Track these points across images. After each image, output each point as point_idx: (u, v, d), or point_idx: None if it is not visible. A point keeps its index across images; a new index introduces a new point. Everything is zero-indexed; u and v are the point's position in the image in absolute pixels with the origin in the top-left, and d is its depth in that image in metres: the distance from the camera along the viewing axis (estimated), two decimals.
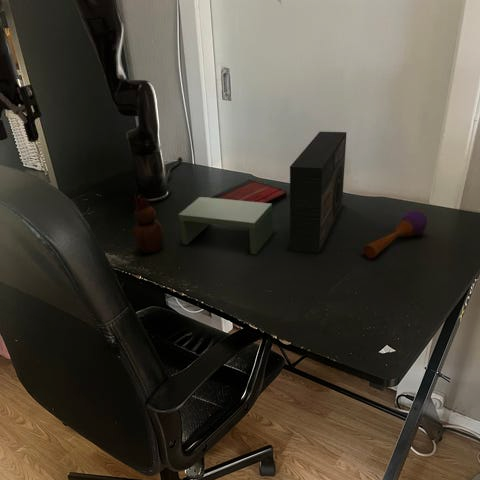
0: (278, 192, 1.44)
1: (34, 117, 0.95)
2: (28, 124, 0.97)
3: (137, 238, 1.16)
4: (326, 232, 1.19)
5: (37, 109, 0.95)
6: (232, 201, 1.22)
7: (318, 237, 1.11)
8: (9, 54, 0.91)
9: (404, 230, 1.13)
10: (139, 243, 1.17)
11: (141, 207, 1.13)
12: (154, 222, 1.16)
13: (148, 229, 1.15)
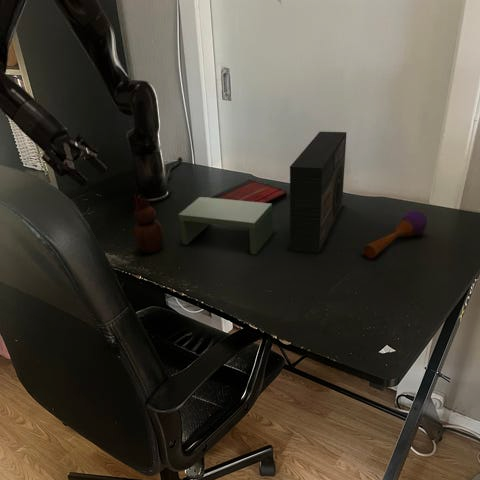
0: (278, 192, 1.44)
1: (60, 174, 1.07)
2: None
3: (137, 238, 1.16)
4: (326, 232, 1.19)
5: None
6: (232, 201, 1.22)
7: (318, 237, 1.11)
8: (34, 128, 1.07)
9: (404, 230, 1.13)
10: (139, 243, 1.17)
11: (141, 207, 1.13)
12: (154, 222, 1.16)
13: (148, 229, 1.15)
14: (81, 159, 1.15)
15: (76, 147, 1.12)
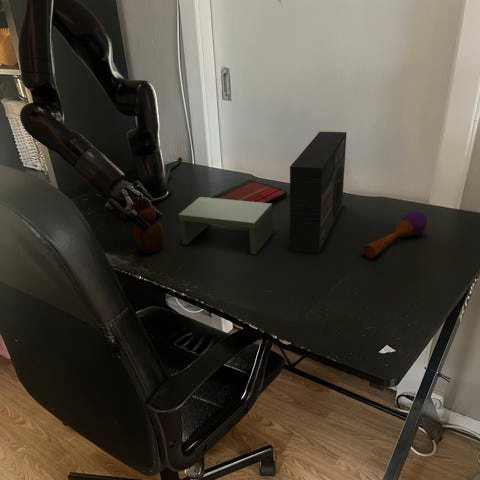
0: (278, 192, 1.44)
1: (124, 221, 1.11)
2: None
3: (137, 238, 1.16)
4: (326, 232, 1.19)
5: None
6: (232, 201, 1.22)
7: (318, 237, 1.11)
8: (94, 176, 1.09)
9: (404, 230, 1.13)
10: (139, 243, 1.17)
11: (141, 207, 1.13)
12: (154, 222, 1.16)
13: (148, 229, 1.15)
14: None
15: (132, 193, 1.14)
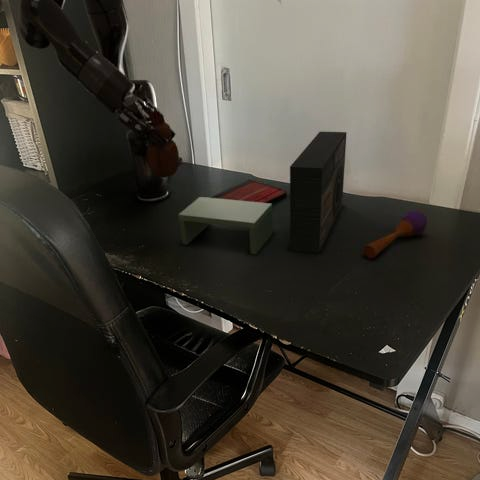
0: (278, 192, 1.44)
1: (141, 135, 1.00)
2: None
3: (152, 159, 1.05)
4: (326, 232, 1.19)
5: None
6: (232, 201, 1.22)
7: (318, 237, 1.11)
8: (104, 84, 0.97)
9: (404, 230, 1.13)
10: (154, 165, 1.06)
11: (156, 122, 1.02)
12: (170, 141, 1.05)
13: (165, 148, 1.04)
14: None
15: (144, 107, 1.03)
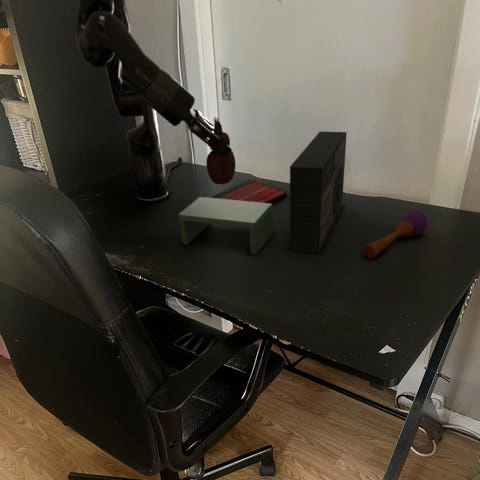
0: (278, 192, 1.44)
1: (211, 145, 1.04)
2: None
3: (215, 168, 1.09)
4: (326, 232, 1.19)
5: (212, 136, 1.03)
6: (232, 201, 1.22)
7: (318, 237, 1.11)
8: (173, 98, 1.00)
9: (404, 230, 1.13)
10: (217, 173, 1.10)
11: (218, 132, 1.07)
12: None
13: (227, 156, 1.09)
14: None
15: None
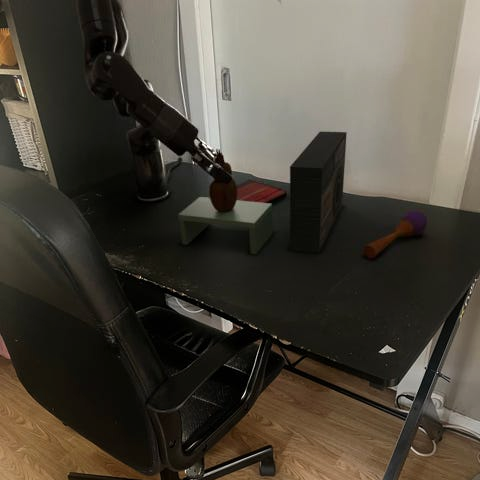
0: (278, 192, 1.44)
1: (212, 174, 1.06)
2: (216, 175, 1.08)
3: (218, 196, 1.13)
4: (326, 232, 1.19)
5: None
6: None
7: (318, 237, 1.11)
8: (178, 131, 1.03)
9: (404, 230, 1.13)
10: (219, 201, 1.14)
11: (220, 163, 1.11)
12: None
13: (229, 185, 1.13)
14: None
15: None
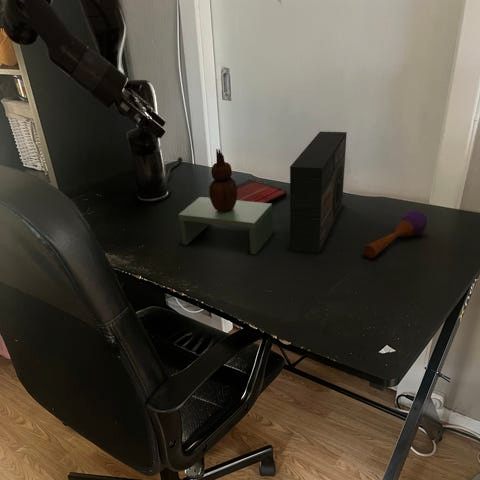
0: (278, 192, 1.44)
1: (141, 125, 1.00)
2: (147, 127, 1.02)
3: (218, 196, 1.13)
4: (326, 232, 1.19)
5: (141, 115, 0.99)
6: None
7: (318, 237, 1.11)
8: (102, 78, 0.97)
9: (404, 230, 1.13)
10: (219, 201, 1.14)
11: (220, 163, 1.11)
12: (230, 178, 1.14)
13: (229, 185, 1.13)
14: None
15: (138, 100, 1.05)
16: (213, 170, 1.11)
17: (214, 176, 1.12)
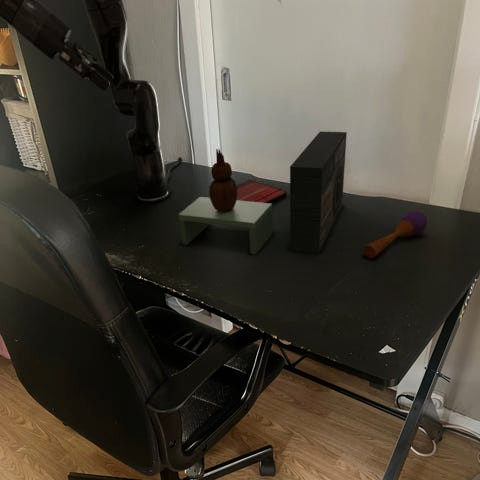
0: (278, 192, 1.44)
1: (83, 75, 1.00)
2: (91, 79, 1.02)
3: (218, 196, 1.13)
4: (326, 232, 1.19)
5: (82, 65, 0.99)
6: None
7: (318, 237, 1.11)
8: (43, 27, 0.97)
9: (404, 230, 1.13)
10: (219, 201, 1.14)
11: (220, 163, 1.11)
12: (230, 178, 1.14)
13: (229, 185, 1.13)
14: None
15: (83, 52, 1.05)
16: (213, 170, 1.11)
17: (214, 176, 1.12)
